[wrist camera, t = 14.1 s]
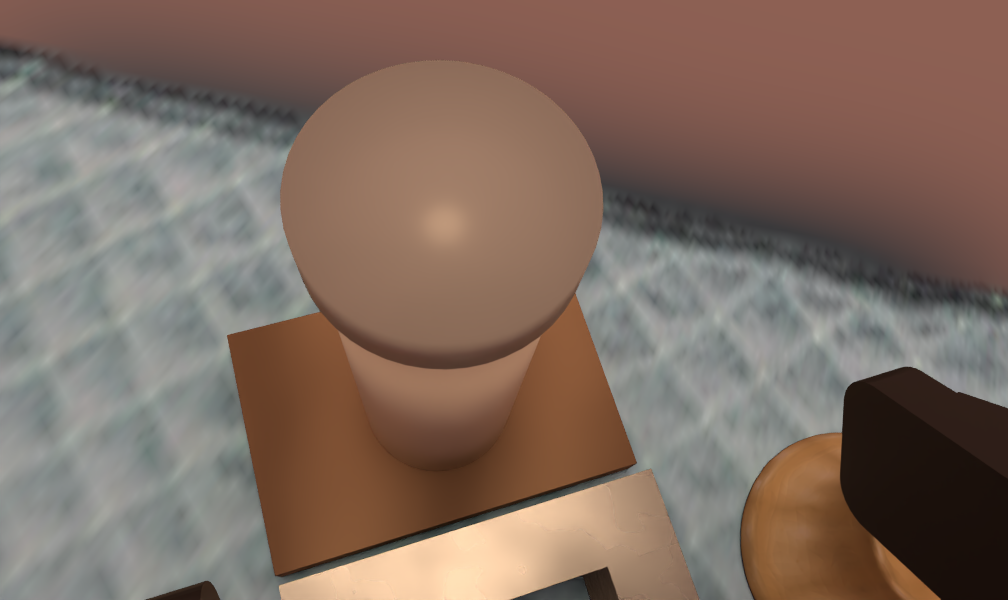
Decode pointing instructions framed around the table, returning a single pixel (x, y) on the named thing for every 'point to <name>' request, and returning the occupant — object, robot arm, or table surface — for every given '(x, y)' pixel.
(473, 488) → the board
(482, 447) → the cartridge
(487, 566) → the housing
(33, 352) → the table surface
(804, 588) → the hand bell
